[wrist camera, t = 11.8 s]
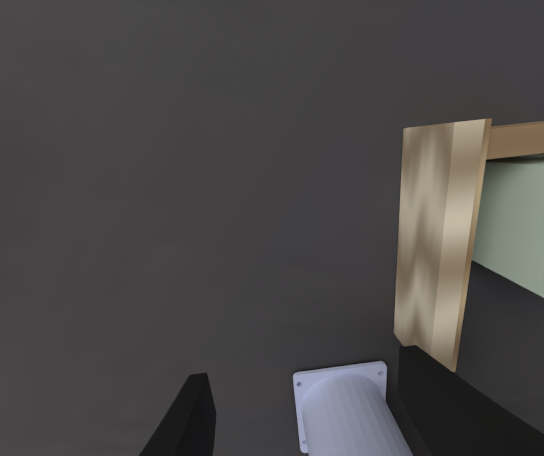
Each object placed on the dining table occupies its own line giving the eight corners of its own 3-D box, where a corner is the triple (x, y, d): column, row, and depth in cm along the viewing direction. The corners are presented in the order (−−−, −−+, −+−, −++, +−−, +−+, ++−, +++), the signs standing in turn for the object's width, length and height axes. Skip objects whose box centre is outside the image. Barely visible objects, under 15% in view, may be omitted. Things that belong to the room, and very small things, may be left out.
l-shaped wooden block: (490, 320, 22) (548, 363, 18) (393, 333, 22) (428, 379, 17) (528, 114, 17) (621, 104, 13) (403, 128, 17) (454, 122, 12)
